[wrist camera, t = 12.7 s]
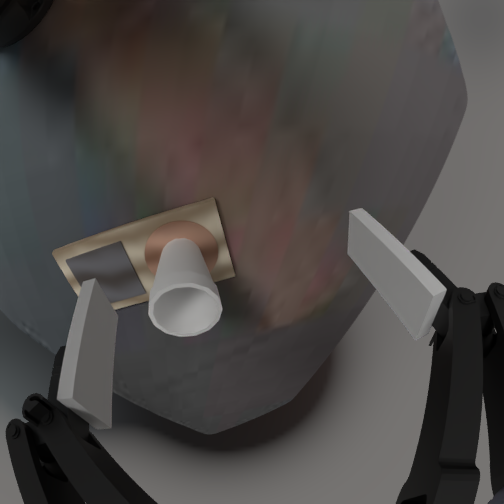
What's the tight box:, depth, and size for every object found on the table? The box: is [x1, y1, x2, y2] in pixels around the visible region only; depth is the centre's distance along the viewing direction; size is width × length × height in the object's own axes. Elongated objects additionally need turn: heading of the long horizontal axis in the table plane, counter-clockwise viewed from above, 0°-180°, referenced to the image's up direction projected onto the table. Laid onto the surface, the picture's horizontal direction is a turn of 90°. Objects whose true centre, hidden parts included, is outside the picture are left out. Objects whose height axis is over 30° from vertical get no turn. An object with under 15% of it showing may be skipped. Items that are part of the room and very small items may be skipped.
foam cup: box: [148, 238, 223, 337], centre depth 41 cm, size 10×9×13 cm
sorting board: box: [52, 197, 235, 310], centre depth 46 cm, size 15×29×1 cm, turn 101°
